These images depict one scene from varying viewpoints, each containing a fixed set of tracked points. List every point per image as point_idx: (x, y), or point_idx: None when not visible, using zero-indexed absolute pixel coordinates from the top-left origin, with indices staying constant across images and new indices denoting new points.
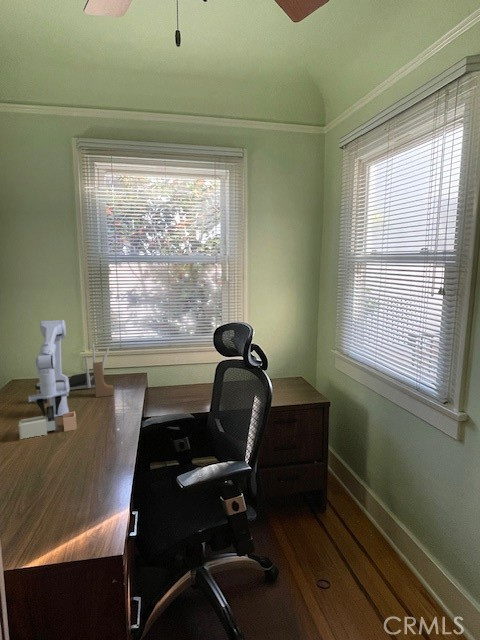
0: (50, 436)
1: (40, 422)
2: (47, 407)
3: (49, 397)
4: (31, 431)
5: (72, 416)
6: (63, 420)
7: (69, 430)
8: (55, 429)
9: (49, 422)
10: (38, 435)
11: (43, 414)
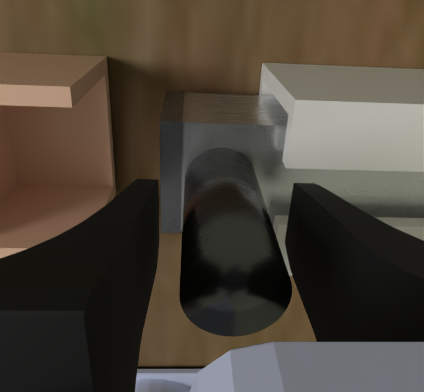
0: (235, 8)
1: (356, 98)
2: (280, 273)
3: (337, 376)
4: (418, 81)
5: (2, 220)
6: (74, 82)
7: (57, 55)
8: (184, 93)
9: (242, 121)
10: (337, 67)
11: (329, 192)
